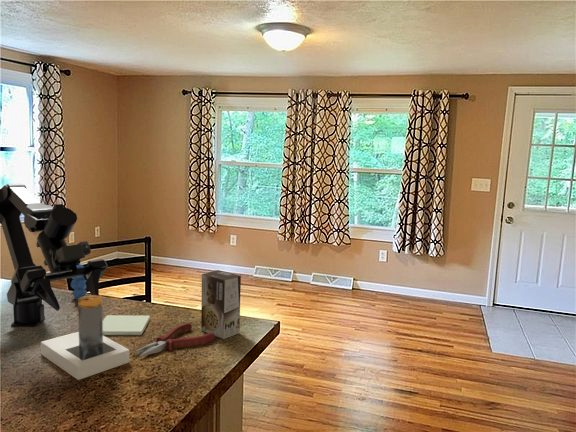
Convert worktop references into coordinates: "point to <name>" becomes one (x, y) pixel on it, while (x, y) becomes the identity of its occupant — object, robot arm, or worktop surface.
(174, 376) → the worktop surface
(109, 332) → the mat
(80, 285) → the grapes
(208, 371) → the worktop surface
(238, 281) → the coffee box
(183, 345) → the pliers
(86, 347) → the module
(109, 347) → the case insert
